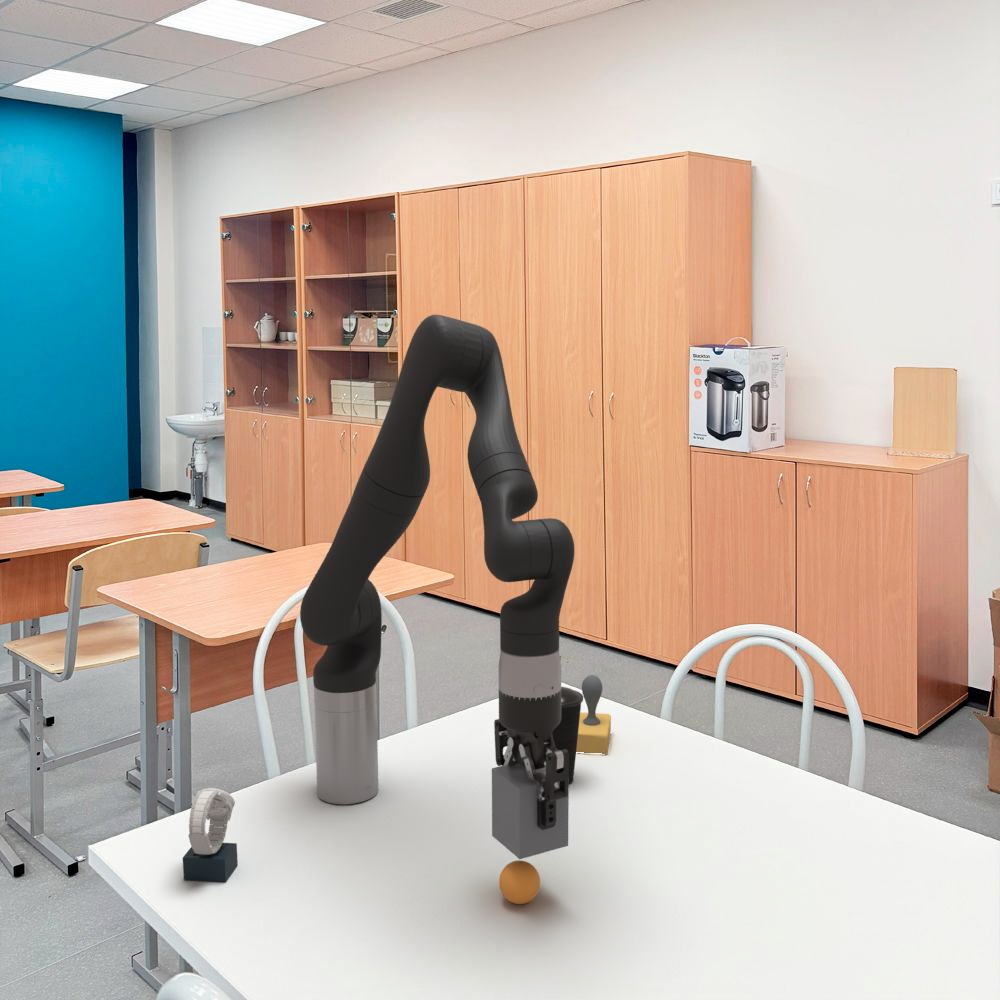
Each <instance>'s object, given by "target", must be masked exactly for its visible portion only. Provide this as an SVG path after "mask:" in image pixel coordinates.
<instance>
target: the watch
mask: <svg viewBox="0 0 1000 1000" xmlns="http://www.w3.org/2000/svg"><path fill="white" fill-rule="evenodd" d="M235 804H236V802H235V798H234V797H233V796H232V795H231V794H230V793H229V792H227V791H225V790H222V789H221V788H220V789H219V788H216V787H215V788H214V787H207V788H204V789H201V790H198V791H197V792H196V795H195V797H194V799H193V801H192V804H191V808H190V812H189V820H188V822H189V824H188V829H189V830H188V831H189V832H188V839H189V843H190V848H189V849H188V850H187V852H186V853H185V854H184V855H183V856H182V867H183V868H182V871H183V881H187V882H204V883H205V882H206V883H207V882H208V883H210V882H211V883H227V882H228V880H229V879H230V877H231V876H232V874H233V873H234V872H235V871H236V869H237V867H238V866H239V865H238V844H237V843H235V842H224V841H225V838H226V834H227V829H228V822H230V820H231V817H232V815H233V814H232V813H233V809H234V807H235ZM207 820H208V821H209V826H208V832H207V831H206V823H207V822H206V821H207ZM206 832H207V833H206Z"/></svg>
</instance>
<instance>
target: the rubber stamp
mask: <svg viewBox="0 0 1000 1000" xmlns="http://www.w3.org/2000/svg"><path fill="white" fill-rule="evenodd" d="M581 692H582V693H581V694H582V695H583V700H584V701H585V703H586V707H587V712H581V711H580V720H579V729H578V739H577V749H576V752H584V753H602V754H606V753H607V754H608V752H609V746H608V745H610V739H611V738H610V737H611V733H612V732H611V730H612V727H611V726H612V725H611V724H612V721H611V718H612V717H611V715H610V713H599V712H598V713H596V712H597V708H598V707H597V706H598V704H599V703H600V702H599V701H600V699H601V697H602V693H603V683H602V680H601V679H600V678H599V677H598V676H597V675H594V674H590V675H588V676H586V677H585V678H584V679H583V681H582V683H581ZM610 732H611V733H610ZM609 738H610V739H609ZM607 754H606V755H607Z"/></svg>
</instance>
